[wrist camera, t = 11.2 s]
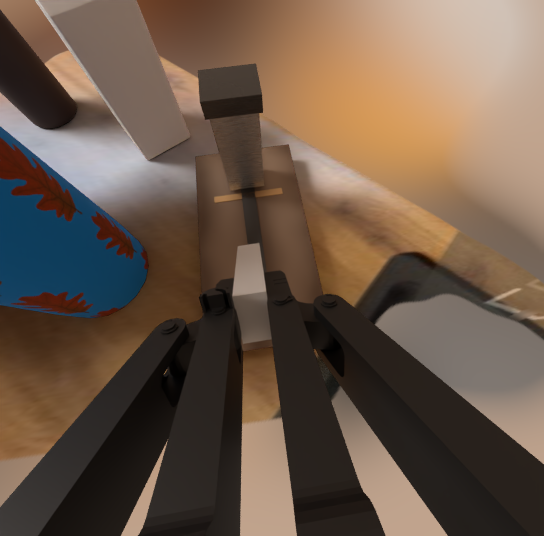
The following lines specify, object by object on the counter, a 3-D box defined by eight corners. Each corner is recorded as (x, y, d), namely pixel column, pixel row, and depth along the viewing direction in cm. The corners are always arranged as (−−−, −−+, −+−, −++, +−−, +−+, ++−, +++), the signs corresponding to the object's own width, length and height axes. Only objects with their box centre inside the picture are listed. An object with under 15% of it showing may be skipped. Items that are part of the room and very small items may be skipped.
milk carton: (191, 137, 34) (96, -101, 16) (148, 161, 33) (-9, -70, 15) (167, 111, 36) (59, -128, 18) (126, 132, 34) (-37, -103, 17)
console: (211, 356, 24) (204, 357, 21) (201, 171, 32) (195, 156, 29) (327, 338, 24) (333, 336, 22) (287, 159, 32) (288, 143, 30)
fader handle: (227, 193, 27) (199, 101, 17) (225, 168, 28) (197, 70, 18) (267, 187, 27) (262, 94, 17) (263, 163, 28) (255, 63, 18)
